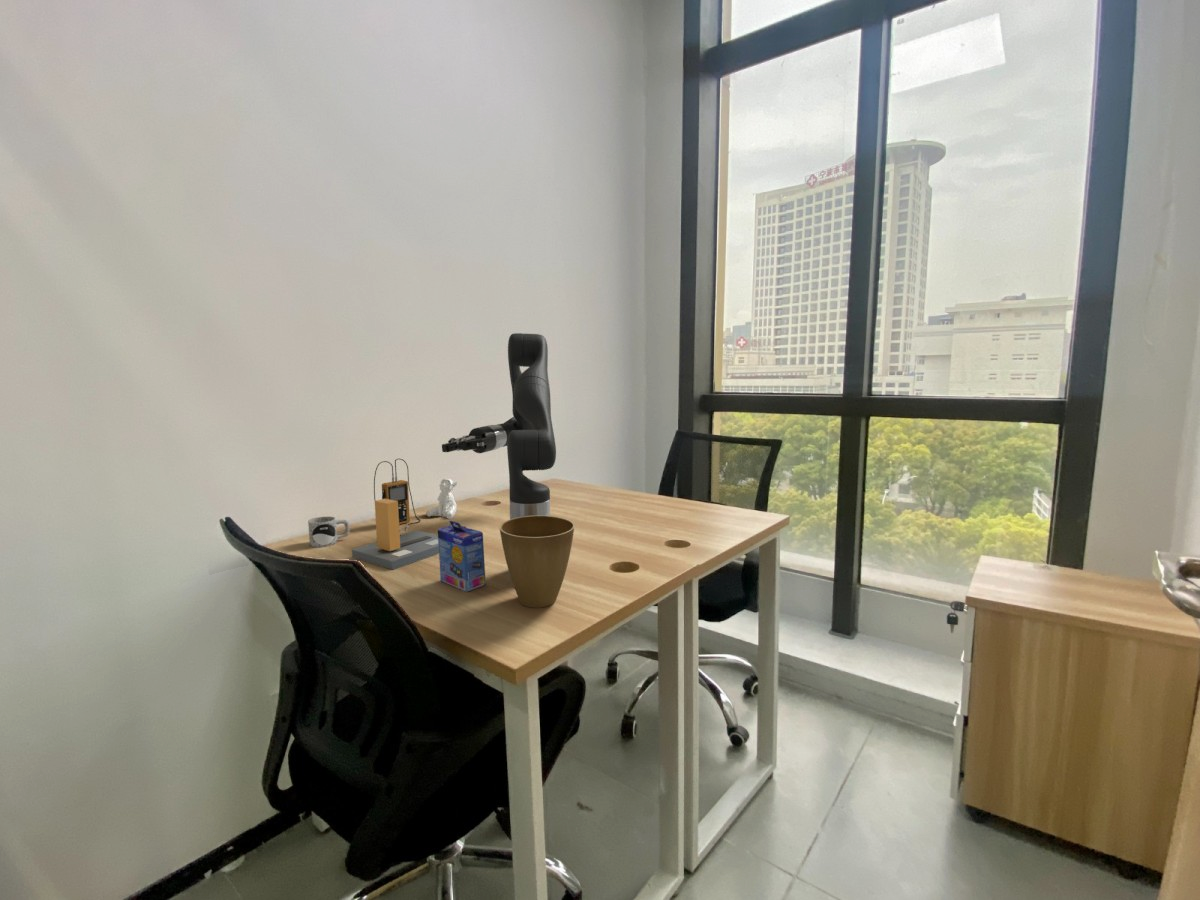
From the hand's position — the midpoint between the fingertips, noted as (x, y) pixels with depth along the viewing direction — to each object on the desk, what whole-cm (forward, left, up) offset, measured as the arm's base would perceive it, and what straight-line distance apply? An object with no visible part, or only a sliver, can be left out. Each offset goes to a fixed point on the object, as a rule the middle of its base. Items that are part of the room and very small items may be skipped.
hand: (444, 448), depth 151 cm
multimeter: (+20, -1, -26) cm, 33 cm away
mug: (+24, +20, -26) cm, 40 cm away
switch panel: (0, +14, -25) cm, 29 cm away
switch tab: (0, +19, -23) cm, 29 cm away
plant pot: (-48, +19, -26) cm, 57 cm away
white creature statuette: (+20, -17, -26) cm, 37 cm away
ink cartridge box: (-28, +21, -26) cm, 43 cm away
